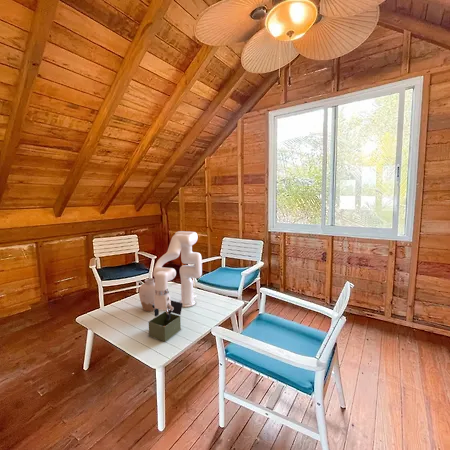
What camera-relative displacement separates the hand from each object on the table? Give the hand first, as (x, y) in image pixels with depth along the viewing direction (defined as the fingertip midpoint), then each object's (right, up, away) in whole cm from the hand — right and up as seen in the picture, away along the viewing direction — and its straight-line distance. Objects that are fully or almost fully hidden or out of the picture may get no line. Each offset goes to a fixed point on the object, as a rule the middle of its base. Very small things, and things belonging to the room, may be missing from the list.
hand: (162, 317), depth 156 cm
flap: (+5, +4, +9) cm, 11 cm away
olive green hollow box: (+1, -11, +3) cm, 11 cm away
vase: (-18, -6, +36) cm, 40 cm away
